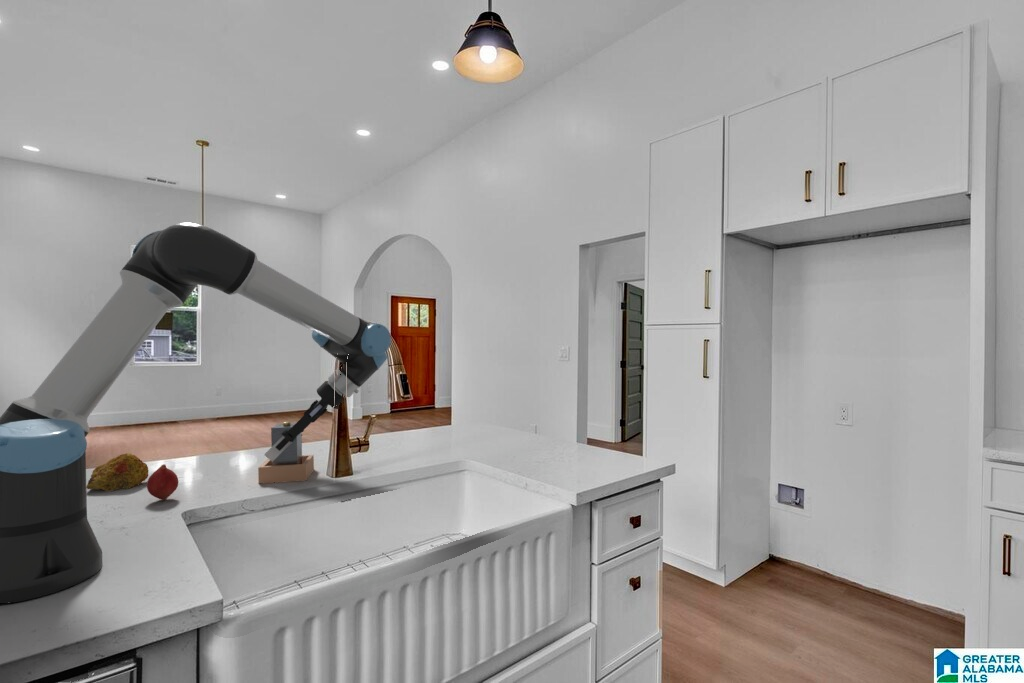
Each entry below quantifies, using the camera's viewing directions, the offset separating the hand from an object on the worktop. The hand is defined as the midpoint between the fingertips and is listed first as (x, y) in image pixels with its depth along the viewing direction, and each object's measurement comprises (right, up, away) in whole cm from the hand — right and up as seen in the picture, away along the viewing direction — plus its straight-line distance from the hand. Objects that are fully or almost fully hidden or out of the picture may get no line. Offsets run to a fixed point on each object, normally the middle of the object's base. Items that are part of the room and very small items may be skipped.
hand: (272, 454), depth 132 cm
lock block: (+4, -4, +1) cm, 5 cm away
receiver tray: (+4, -6, +1) cm, 7 cm away
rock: (-35, -7, -6) cm, 36 cm away
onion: (-16, -6, -17) cm, 25 cm away
